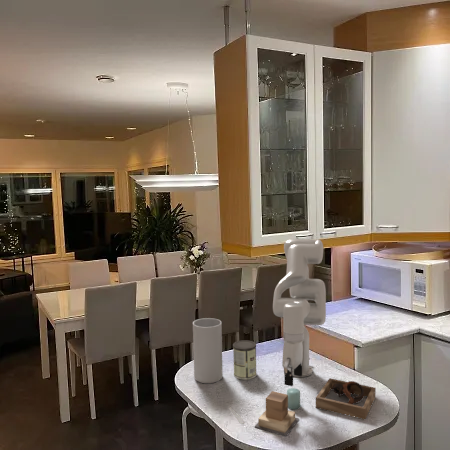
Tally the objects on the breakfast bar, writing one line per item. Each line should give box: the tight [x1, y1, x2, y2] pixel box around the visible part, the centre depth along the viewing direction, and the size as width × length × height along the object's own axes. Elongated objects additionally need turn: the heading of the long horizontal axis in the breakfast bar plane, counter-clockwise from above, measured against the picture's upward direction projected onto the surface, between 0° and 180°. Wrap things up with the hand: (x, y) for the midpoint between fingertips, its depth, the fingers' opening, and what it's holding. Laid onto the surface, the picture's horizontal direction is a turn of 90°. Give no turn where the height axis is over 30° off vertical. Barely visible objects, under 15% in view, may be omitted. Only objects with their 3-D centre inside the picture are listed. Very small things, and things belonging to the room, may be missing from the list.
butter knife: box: [228, 406, 246, 425], centre depth 171 cm, size 1×27×3 cm
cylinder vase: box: [192, 317, 224, 384], centre depth 195 cm, size 12×12×25 cm
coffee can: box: [232, 339, 257, 381], centre depth 197 cm, size 10×10×14 cm
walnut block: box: [265, 390, 289, 421], centre depth 158 cm, size 6×6×7 cm
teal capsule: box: [286, 387, 301, 411], centre depth 170 cm, size 5×5×6 cm
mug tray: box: [315, 377, 377, 420], centre depth 172 cm, size 18×18×4 cm
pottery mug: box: [332, 380, 365, 405], centre depth 174 cm, size 12×10×8 cm
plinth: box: [254, 409, 300, 437], centre depth 158 cm, size 12×12×3 cm
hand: (293, 380), depth 168 cm, fingers open, 9 cm apart
